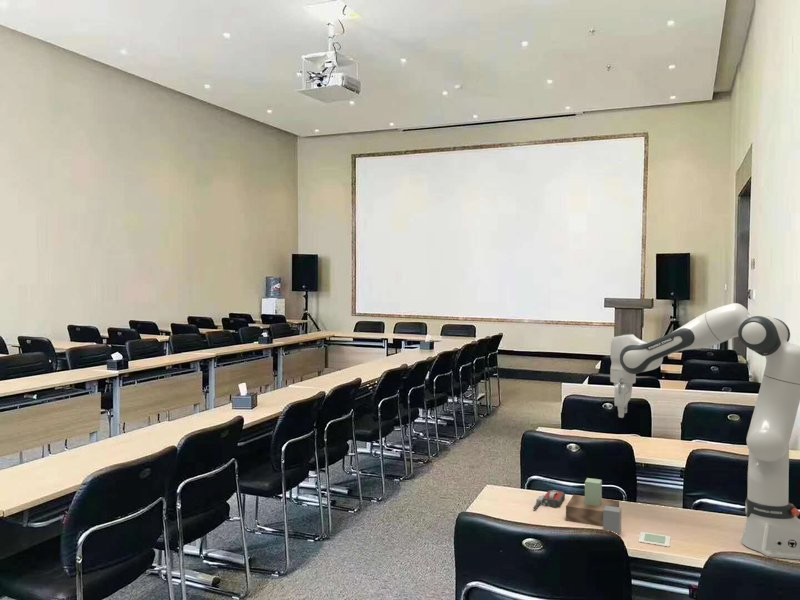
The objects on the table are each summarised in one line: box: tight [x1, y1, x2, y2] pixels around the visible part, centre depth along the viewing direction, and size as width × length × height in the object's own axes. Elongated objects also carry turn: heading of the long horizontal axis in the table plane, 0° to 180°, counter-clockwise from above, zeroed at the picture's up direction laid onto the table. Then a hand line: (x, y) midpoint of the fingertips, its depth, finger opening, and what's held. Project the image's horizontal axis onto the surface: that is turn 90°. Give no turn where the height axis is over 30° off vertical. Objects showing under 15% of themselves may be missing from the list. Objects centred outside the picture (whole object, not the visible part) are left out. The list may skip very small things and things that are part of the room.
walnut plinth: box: [565, 494, 620, 527], centre depth 221 cm, size 16×14×5 cm
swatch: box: [638, 531, 672, 548], centre depth 202 cm, size 9×9×1 cm
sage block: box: [584, 477, 603, 507], centre depth 221 cm, size 5×5×8 cm
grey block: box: [602, 506, 622, 536], centre depth 207 cm, size 5×5×8 cm
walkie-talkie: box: [532, 489, 566, 510], centre depth 236 cm, size 9×4×20 cm
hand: (622, 415), depth 232 cm, fingers open, 8 cm apart
